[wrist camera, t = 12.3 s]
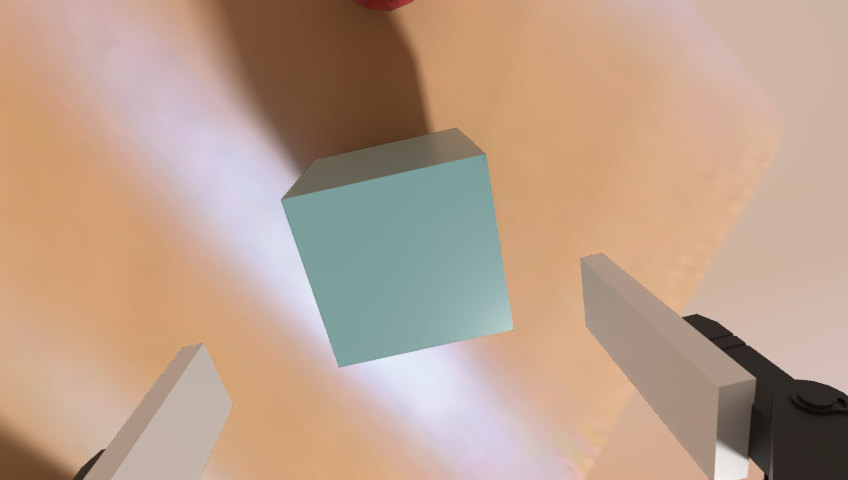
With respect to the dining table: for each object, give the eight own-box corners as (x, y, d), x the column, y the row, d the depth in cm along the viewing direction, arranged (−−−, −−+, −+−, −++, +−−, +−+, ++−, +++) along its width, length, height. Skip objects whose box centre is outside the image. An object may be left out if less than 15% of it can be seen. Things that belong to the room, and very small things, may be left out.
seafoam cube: (353, 285, 29) (339, 367, 21) (315, 159, 26) (280, 200, 18) (480, 257, 29) (513, 329, 21) (457, 127, 26) (485, 153, 18)
